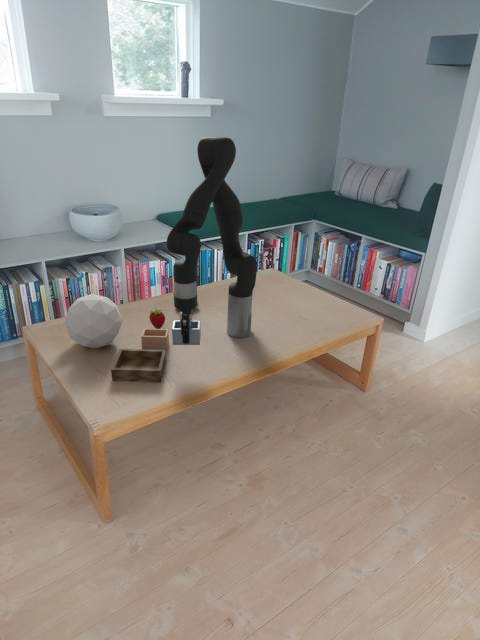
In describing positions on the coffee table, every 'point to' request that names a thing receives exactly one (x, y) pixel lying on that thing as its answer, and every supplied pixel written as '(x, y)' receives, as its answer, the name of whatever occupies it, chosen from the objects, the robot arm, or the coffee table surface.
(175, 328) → the blue-grey hollow box
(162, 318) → the strawberry
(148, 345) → the terracotta crate
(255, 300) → the coffee table surface
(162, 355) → the walnut crate
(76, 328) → the geometric orb
